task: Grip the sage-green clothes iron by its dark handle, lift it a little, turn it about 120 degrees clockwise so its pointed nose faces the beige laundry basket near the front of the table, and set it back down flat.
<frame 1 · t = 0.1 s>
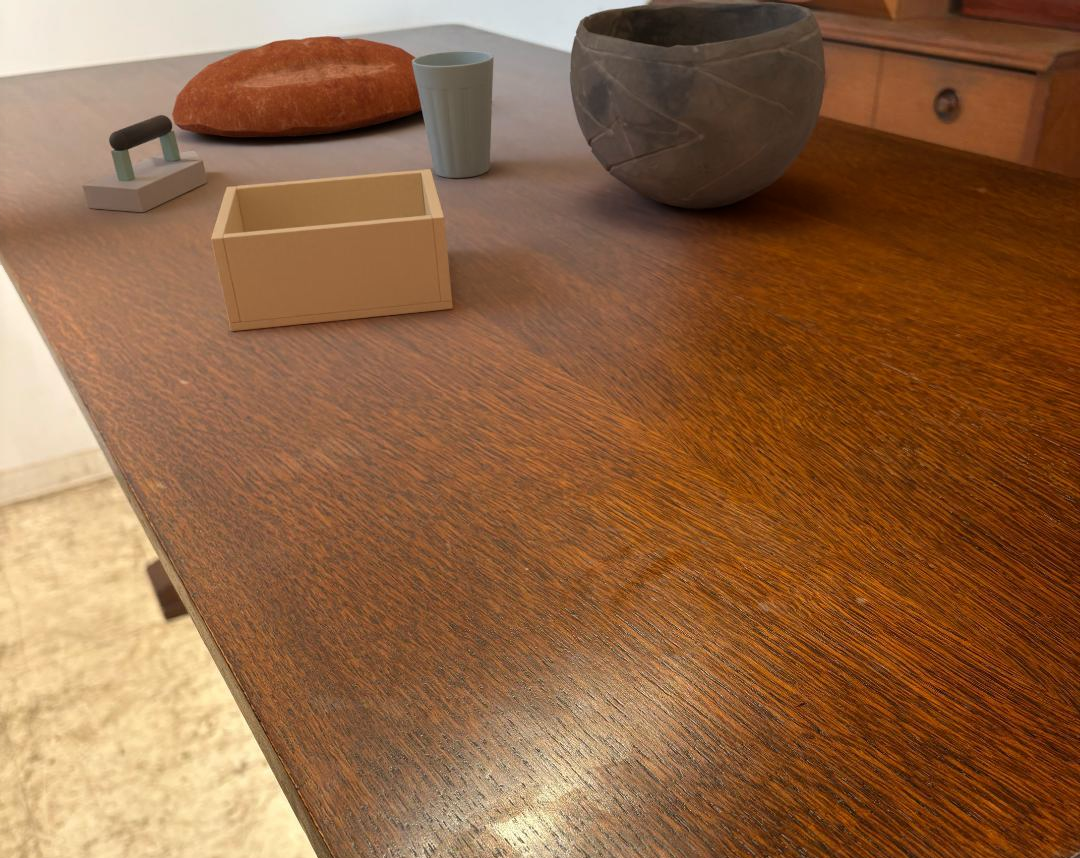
basket: (342, 288, 82), on the table
bread: (314, 122, 129), on the table
bowl: (691, 201, 97), on the table
iron: (192, 175, 111), on the table
cup: (462, 172, 108), on the table
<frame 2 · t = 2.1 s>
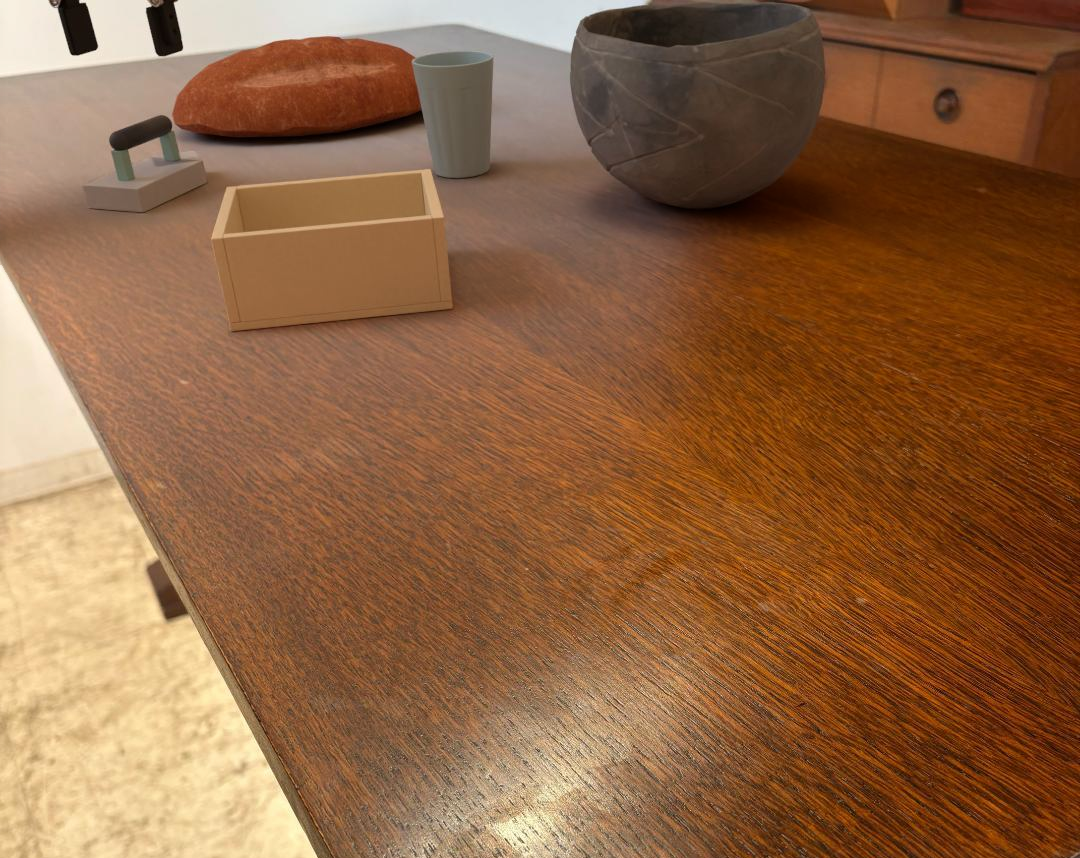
hand: (127, 53, 99), 13 cm above the table, tool pointing down, fingers open, 9 cm apart
nothing on the table moved.
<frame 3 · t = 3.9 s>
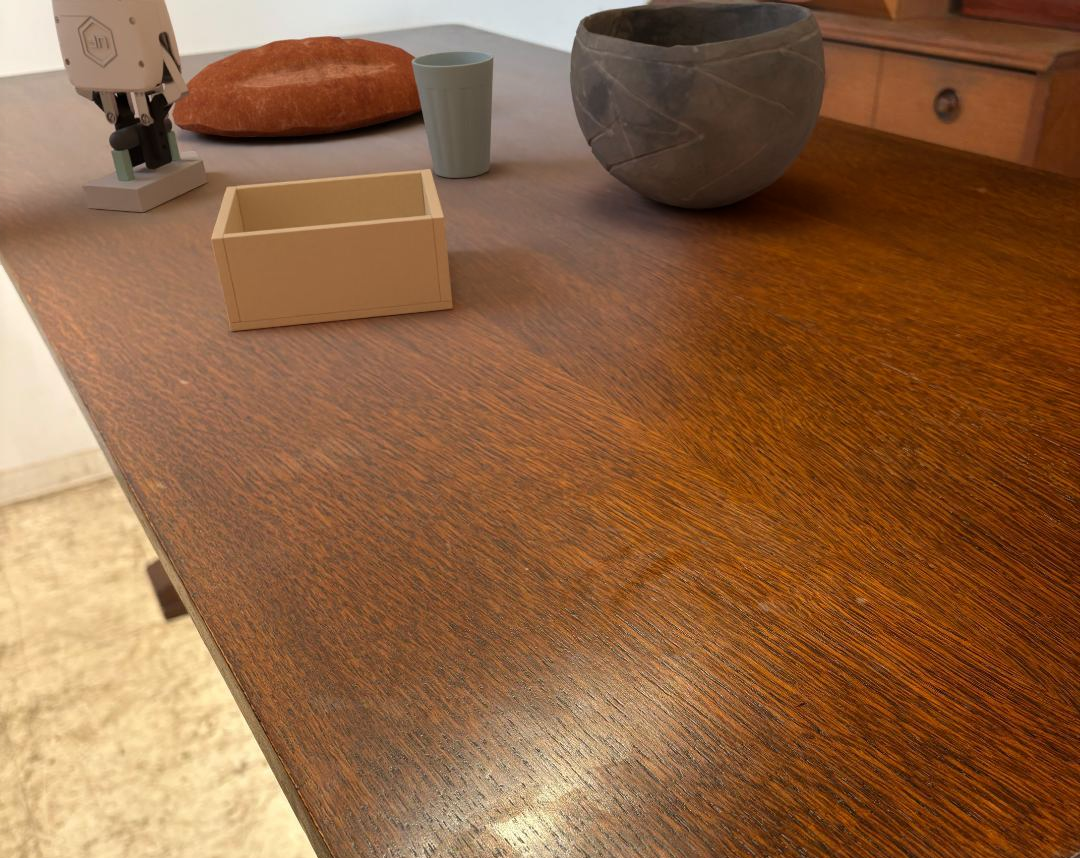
hand: (148, 163, 105), 3 cm above the table, tool pointing down, fingers closed on iron
iron: (192, 175, 111), on the table, touching gripper
everything else where it was.
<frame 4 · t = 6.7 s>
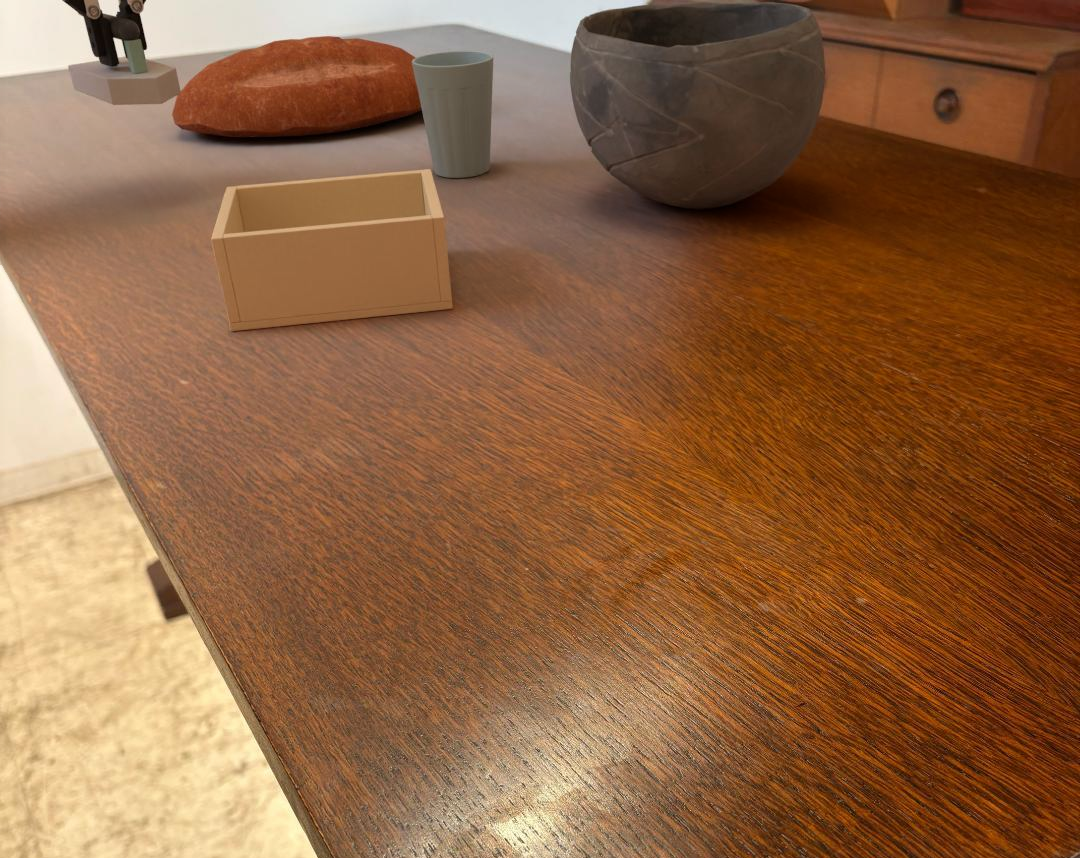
hand: (122, 61, 100), 12 cm above the table, tool pointing down, fingers closed on iron
iron: (156, 102, 97), point 9 cm above the table, touching gripper
everything else where it was.
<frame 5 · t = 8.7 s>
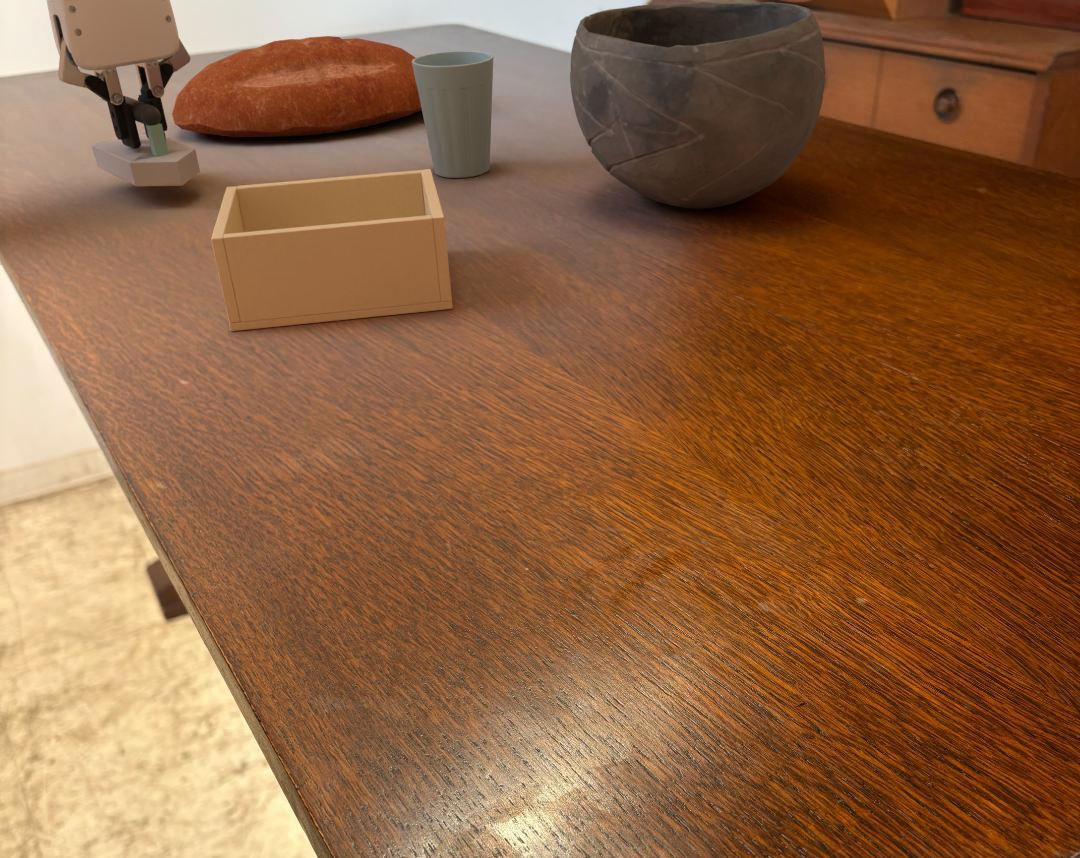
hand: (144, 142, 104), 5 cm above the table, tool pointing down, fingers closed on iron
iron: (177, 183, 101), point 2 cm above the table, touching gripper
everything else where it was.
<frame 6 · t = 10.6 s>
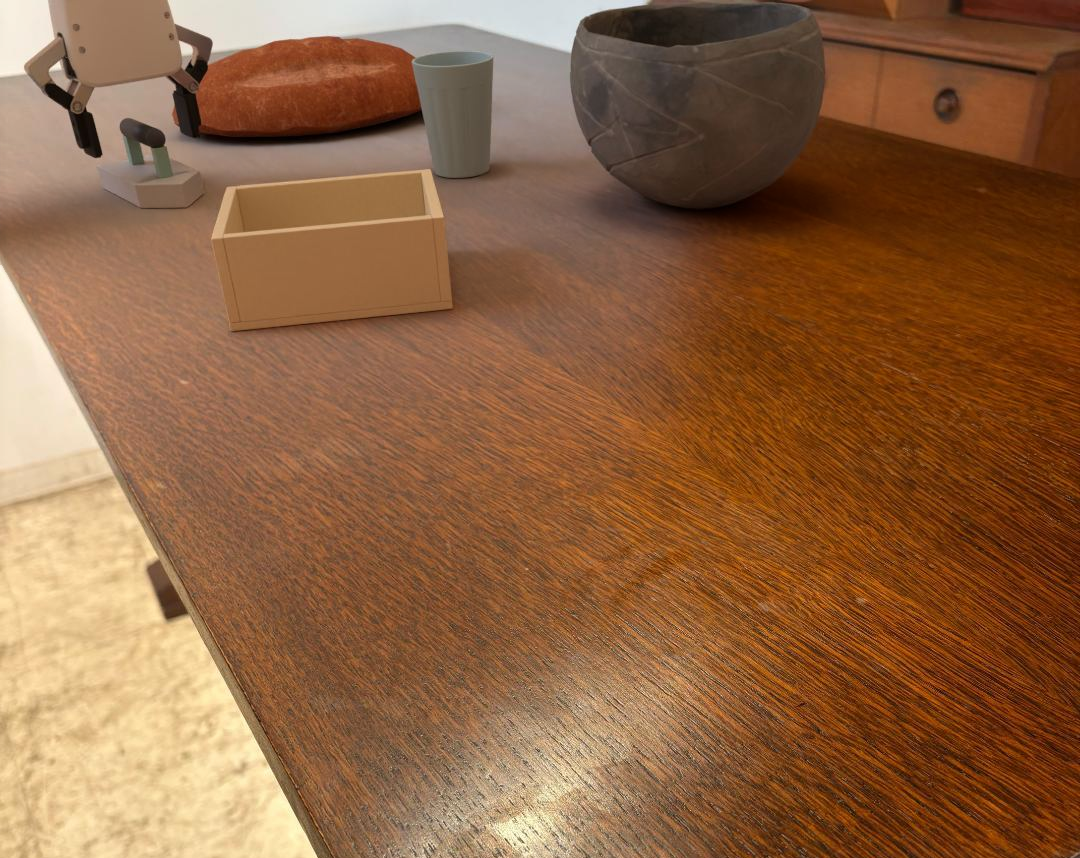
hand: (143, 145, 104), 4 cm above the table, tool pointing down, fingers open, 9 cm apart
iron: (181, 205, 102), on the table
everything else where it was.
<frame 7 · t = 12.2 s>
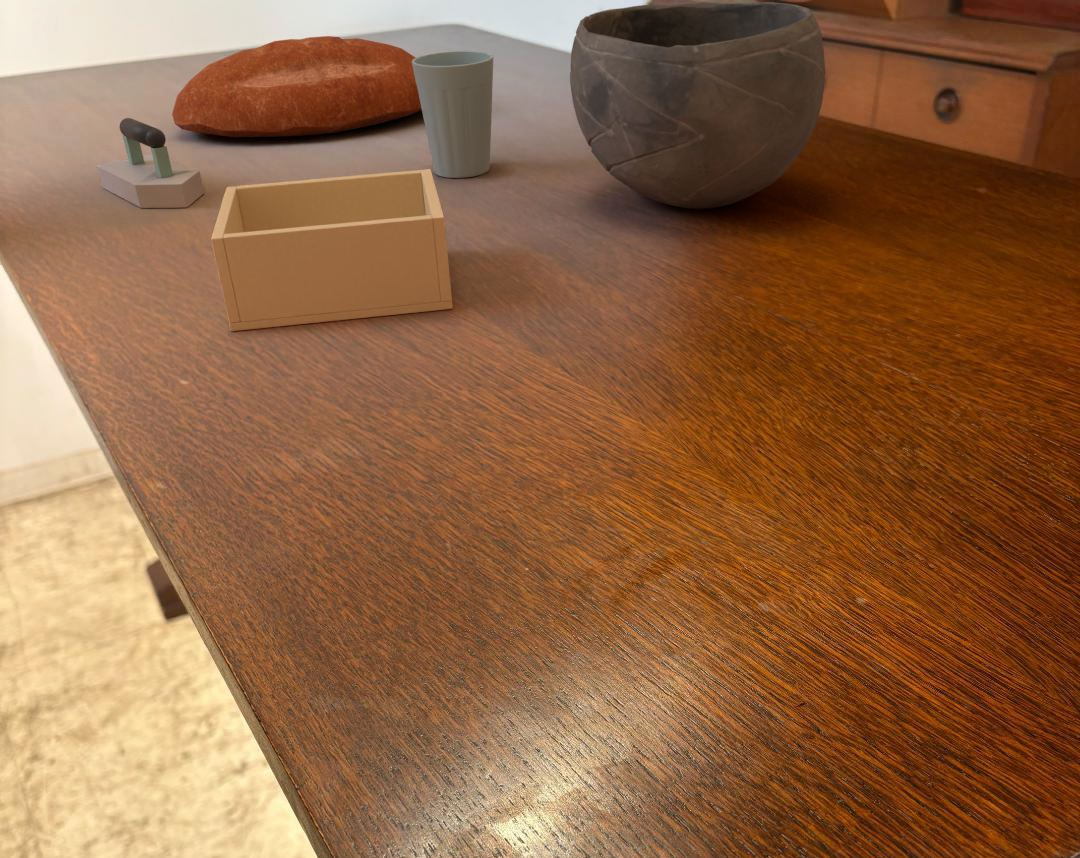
nothing on the table moved.
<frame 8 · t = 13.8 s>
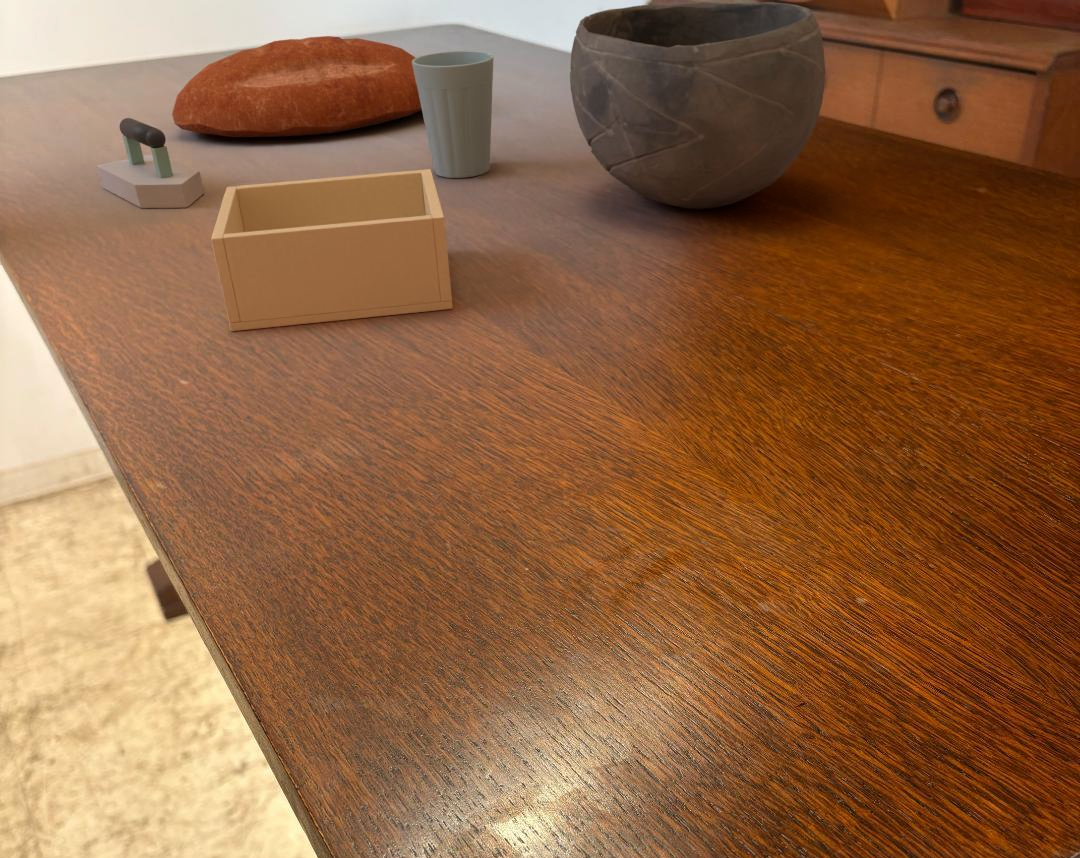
nothing on the table moved.
at the end: iron inside the target area (0.1 cm from its centre), on the table; iron 30.6 cm from the basket (horizontally); iron tilted 0° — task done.
